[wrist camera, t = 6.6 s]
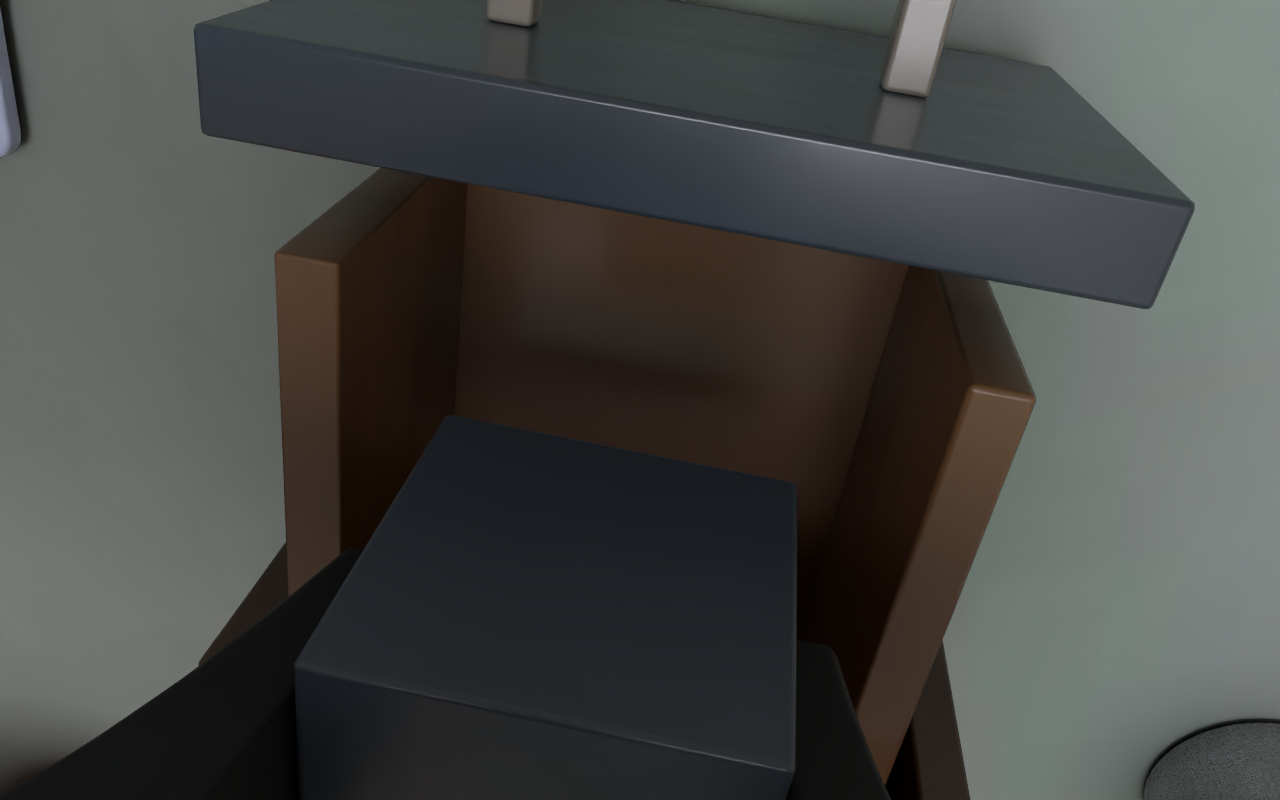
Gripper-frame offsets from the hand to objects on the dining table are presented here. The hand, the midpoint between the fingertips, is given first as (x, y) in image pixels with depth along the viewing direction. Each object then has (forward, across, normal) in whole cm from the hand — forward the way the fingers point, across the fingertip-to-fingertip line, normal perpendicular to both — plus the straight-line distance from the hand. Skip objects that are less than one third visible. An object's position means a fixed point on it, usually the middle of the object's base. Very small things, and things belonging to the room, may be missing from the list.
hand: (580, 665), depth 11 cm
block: (+1, 0, 0) cm, 1 cm away
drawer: (+9, 0, -1) cm, 9 cm away
